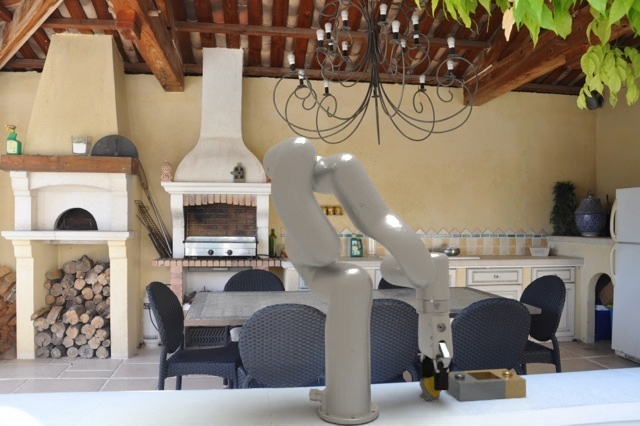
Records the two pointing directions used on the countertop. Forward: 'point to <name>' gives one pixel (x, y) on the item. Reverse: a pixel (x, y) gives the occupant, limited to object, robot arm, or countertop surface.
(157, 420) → the countertop surface
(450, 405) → the countertop surface
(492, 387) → the metal strike plate
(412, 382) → the countertop surface
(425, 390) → the yellow tiered cone
